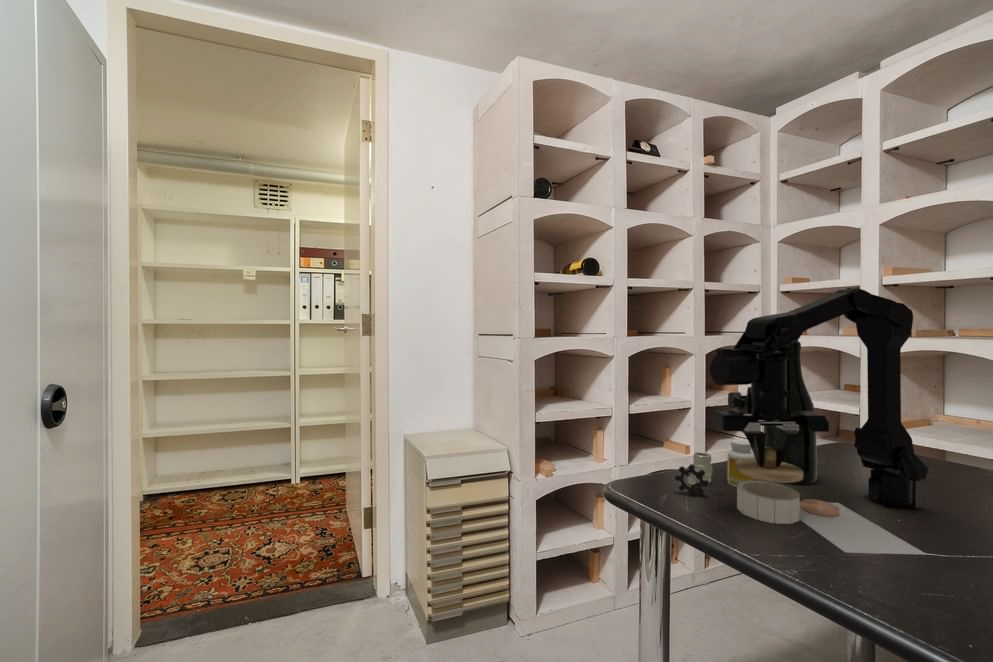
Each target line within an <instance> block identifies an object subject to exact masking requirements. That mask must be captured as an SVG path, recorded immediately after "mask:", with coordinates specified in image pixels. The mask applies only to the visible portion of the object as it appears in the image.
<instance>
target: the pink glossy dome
mask: <svg viewBox="0 0 993 662" xmlns="http://www.w3.org/2000/svg"><path fill="white" fill-rule="evenodd" d="M831 503H832V502H828V501H825V500H819V499H815V498H814V499H812V498H811V499H810V498H808V499H806V498H805V499H802V500H801V501H800V507H801V509H802V510H804V511H805V512H807V513H810V514H813V515H817V516H822V517H837V516H839V508H838V507H837V506H836V505H834V504H831Z"/></svg>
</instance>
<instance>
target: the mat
mask: <svg viewBox="0 0 993 662" xmlns="http://www.w3.org/2000/svg"><path fill="white" fill-rule="evenodd" d="M800 502H801V501H800ZM800 502H799V521H801V522H802V523H803V524H804V525H806V526H808V527H809V528H811V529H812V530H814V532H816V533H817V534H819V535H820V536H822V537H823V538H824V539H826V540H827V541H828V542H830V543H831V544H833V545H834V546H835V547H837V548H838V549H840V550H841V551H842V552H844V553H846V554H871V555H873V554H874V555H876V554H879V555H912V556H913V555H918V556H919V555H920V556H928V554H927V553H926V552H924V551H922V550H920V549H919V548H917V547H916V546H913V545H911V544H910V543H908V542H907V541H905V540H903V539H901V538H899V537H898V536H896V535H894V534H893V533H891V532H890V531H888V530H886V529H884V528H882V527H881V526H879V525H877V524H876V523H874V522H872V521H870V520H869V519H867V518H866V517H864V516H862V515H861V514H859V513H857V512H854V511H853V510H851V509H850V508H848V507H846V506H844V505H843V504H842V503H839V502H830V503H831V504H834V505H836V506H837V507H838V508H839V516H837V517H822V516H817V515H813V514H810V513H807V512H805V511H804V510H802V509H801V507H800Z"/></svg>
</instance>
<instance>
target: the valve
mask: <svg viewBox="0 0 993 662" xmlns="http://www.w3.org/2000/svg"><path fill="white" fill-rule="evenodd" d="M711 462H712V454H710V453H707V452H703V451H697V452H694V453H693V463H691V464H689V465H688V466H687V468H688V469H686V468H685V466H683V465H681V466H680V467H679V468H678V472H680V473H681V474H676V475H675V476H674V479H675V481H677V482H680V485H678V490H679V491H681V492H683V491H685V490H687V491H688V492H687V494H688V496H689V497H692V496H693V497H694V496H695V495H696V494H695V493H696V492H697V493H698V494H699V495H700V496H703V495H704V494H705V493H706V492H705V491H706V490H705V489H703V487H708V486H709V485H710V483H711V482H712V474H713V466H712V463H711ZM684 476H686V477H687V483H688V484H690V485H691V487H690V486H688V485H687V484H686V483H685V481H684V480H685V477H684ZM697 483H698V484H699V485H698V486H697V487H696V484H697Z"/></svg>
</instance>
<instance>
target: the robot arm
mask: <svg viewBox="0 0 993 662" xmlns="http://www.w3.org/2000/svg"><path fill="white" fill-rule="evenodd" d="M841 316H844V318H845V319H847V320H848V321H850V322H852V323H854V324H855V326H856V333H857V336H858V338H860V340H861V342H862V343H863V345H864V346H865V347H866V350H867V352H866V353H867V354H866V356H867V358H866V360H867V367H866V371H867V420H866V422H865V423H864V424H863V425H862V426H861V427H856V428H855V429H854V440H855V441H854V444H853V447H854V448H856V452H857V455H858V456H859V457H860V461H861V464H862V467H864V468H868V469H870V477H868V487H867V488H868V493H867V494H866V493H865V494H864V497H865V498H867V499H870V500H871V501H873V502H875V503H877V504H879V505H881V506H882V507H885V508H887V509H893V510H895V509H896V510H897V509H899V510H900V509H901V510H923V509H924V507H923V506H921V505H920V504H917V482H921V480H925V479H927V475H928V472H929V468H928V467H927V465H926V464H925V463H924V462H923V461H922V460H921V459H920V458H919V456H917V455H916V453H915V450H914V445H913V444H914V443H913V439H912V437H911V435H910V433H909V432H908V431H907V429H906V428H905V426H904V424H903V423H902V401H901V400H902V390H901V389H902V388H901V387H902V385H901V384H902V383H901V382H902V381H901V379H902V378H901V375H902V374H901V373H902V372H901V371H902V370H901V369H902V368H901V363H902V362H901V361H902V360H901V350H902V347H903V346H904V345H905V344H906V342H907V341H908V340H909V338H910V337H911V336H912V331H913V322H914V313H913V310H912V309H911V308H909V307H908V305H906V304H904V303H902V302H897V301H895V300H892V299H889V298H886V297H882V296H880V295H876V294H872V293H871V292H868V291H867V290H866V289H861V288H860V287H859V288H858V287H857V288H845V289H843V288H842V289H838V290H837V291H835V292H833V293H832V294H828V295H827V296H824V297H821V298H819V299H816V300H814V301H812V302H809V303H807V304H804V305H802V306H800V307H797V308H795V309H792V310H789V311H787V312H781V313H776V314H769V315H768V314H767V315H763V316H758V317H754V318H751V319H750V320H749V321H748V322H747V323H746V327H745V329H744V332H743V333H742V335H741V336H740V338H739V339H738V341H737V342H736V343H735V345H734V346H733V348H731V349H730V348H717V350H716V355H715V356H714V357H713V358H712V360H711V362H710V363H711V364H709V373H710V377H711V380H712V381H713V382H714V384H716V385H717V386H741V385H750V386H749V387H747V389H746V395H742V393H741V392H739V391H730V392H728V394H727V404H728V408H729V409H731V410H715V411H713V413H712V415H711V424H712V426H715V427H716V428H718V429H720V430H722V431H723V432H724V431H726V432H741V433H742V434H744V436H745V438H746V439H747V441H748V442H749V443H750V446H751V452H752V453H753V454H754V456H755V459H756V461H757V464H758V466H760V467H763V463H764V453H765V435H766V433H764V431H762V430H761V429H762V428H761V427H762V426H763V427H764V426H771V428H772V431H773V434H774V448H775V449H776V467H779V466H780V464H781V463H782V461H783V459H784V457H785V456H786V454H787V452H788V451H789V449H790V448H791V446H792V445H793V444H794V442H795V441H796V440H797V438H798V437H799V436H803V435H804V433H802V432H800V431H799V426H807V427H808V428H809V429H810V430H811V431H813V432H816V433H817V432H818V433H820V432H821V433H822V432H823V433H824V432H825V433H827V432H830V422H829V419H828V418H827V416H825V415H824V414H820V413H817V412H812V411H791V413H790V414H789V413H786V397H790V391H787V390H786V360H796V359H797V356H796V355H795V354H794V353H792V352H791V351H790V350H789V348H788V347H787V346H788V345H790V344H792V343H793V342H795V341H796V340H798V341H799V339H800V338H801V336H802V335H803V334H804V333H805V332H806V331H807V330H809V329H812V328H814V327H817V326H819V325H822V324H824V323H827V322H829V321H831V320H834V319H836V318H839V317H841ZM735 410H737V411H735ZM746 414H747V415H746ZM764 420H765V421H764ZM773 420H774V421H773ZM775 420H776V421H775Z"/></svg>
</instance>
